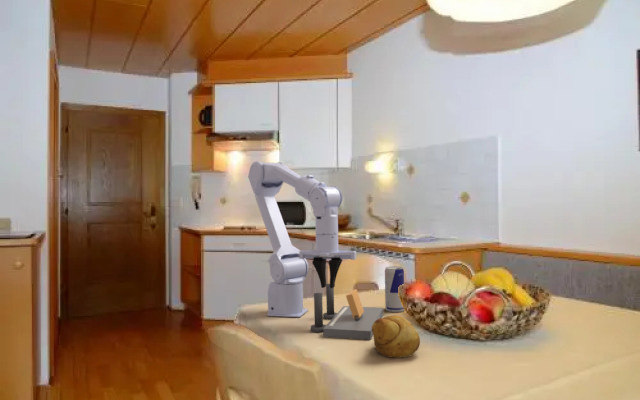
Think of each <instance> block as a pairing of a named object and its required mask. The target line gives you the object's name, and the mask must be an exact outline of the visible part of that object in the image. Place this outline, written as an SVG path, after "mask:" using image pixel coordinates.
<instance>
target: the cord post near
mask: <svg viewBox="0 0 640 400" xmlns="http://www.w3.org/2000/svg"><path fill="white" fill-rule="evenodd" d="M313 305H314V306H313V309H314V310H313V311H314V324H312V325H310V332H312V333H315V334H321V333H322V332H323V333H324V330H323V328H324V327H325V326H326V325H327V324H324V318H323V314H324V312H323V311H324V310H323V292H314V293H313Z"/></svg>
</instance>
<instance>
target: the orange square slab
mask: <svg viewBox="0 0 640 400" xmlns="http://www.w3.org/2000/svg"><path fill="white" fill-rule="evenodd" d="M345 298H346V300H347V303H348V306H350V309H351V312H352V315H353V318H354V319H355V320H358V319H359V318H360V317H361V315H362V314H363V312H364V310H363V307H364V306H363V304H362V301H361V299H360V295H359V293H358V290H357V288H355V289H352V290H350V291H349V292H348V293H347V294H346V295H345Z"/></svg>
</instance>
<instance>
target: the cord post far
mask: <svg viewBox="0 0 640 400" xmlns="http://www.w3.org/2000/svg"><path fill="white" fill-rule="evenodd" d="M325 288H326V290H325V291H326V292H325V293H326V294H325V295H326V312H323V320H327V319H328V320H329V321H331V320H332V318H333V317H334V316H335V315H336V314H337V313H338V312H335V293H334V292H335V289H334V288H335V287H334V288H330V283H326V287H325Z"/></svg>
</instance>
